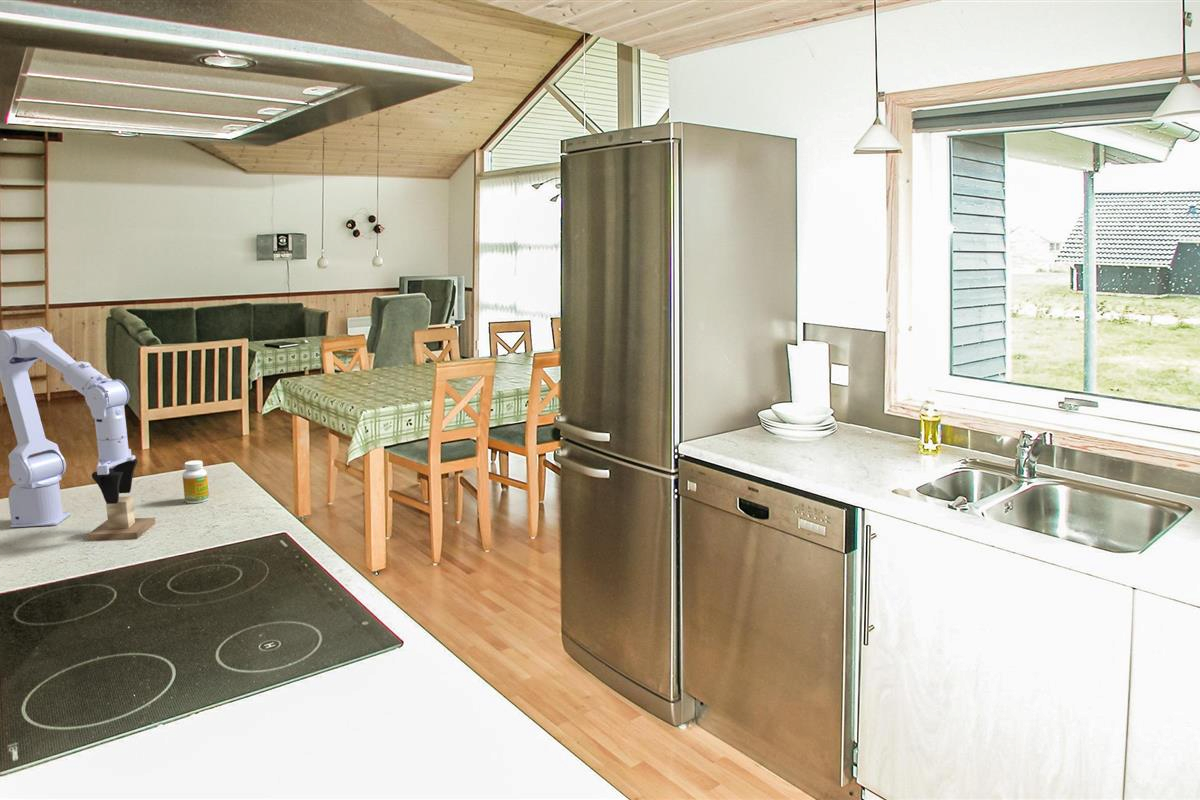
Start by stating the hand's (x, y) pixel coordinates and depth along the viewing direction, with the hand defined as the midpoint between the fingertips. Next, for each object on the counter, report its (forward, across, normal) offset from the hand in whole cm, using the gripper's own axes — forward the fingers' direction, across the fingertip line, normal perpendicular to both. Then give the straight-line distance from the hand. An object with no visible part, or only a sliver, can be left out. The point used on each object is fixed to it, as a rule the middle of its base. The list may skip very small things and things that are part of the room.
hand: (118, 497), depth 187 cm
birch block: (+6, 0, 0) cm, 6 cm away
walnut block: (+8, 0, 0) cm, 8 cm away
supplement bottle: (+8, +21, -10) cm, 25 cm away
